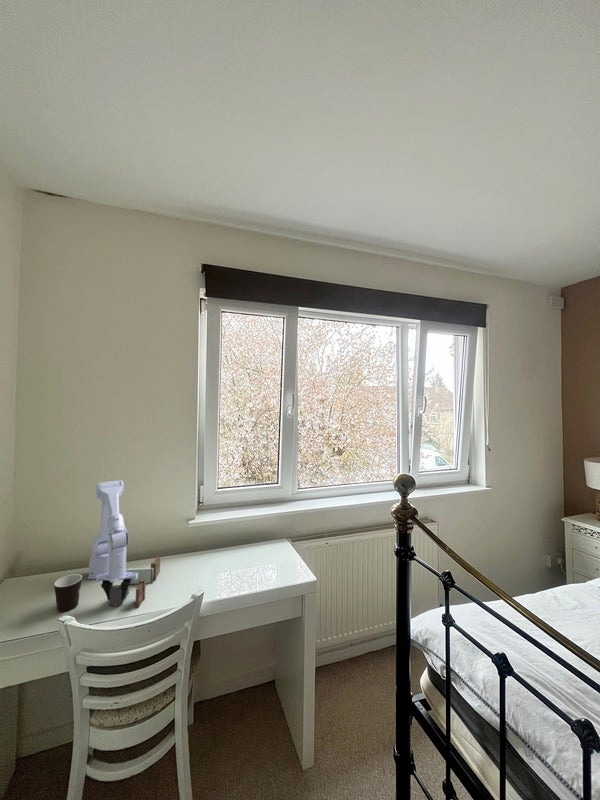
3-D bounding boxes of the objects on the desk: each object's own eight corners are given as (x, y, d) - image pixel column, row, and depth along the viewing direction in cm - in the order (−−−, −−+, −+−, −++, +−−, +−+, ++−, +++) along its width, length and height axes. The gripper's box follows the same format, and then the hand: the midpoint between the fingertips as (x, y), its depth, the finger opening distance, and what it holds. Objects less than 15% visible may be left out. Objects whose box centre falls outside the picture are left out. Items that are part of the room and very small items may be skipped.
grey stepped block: (121, 604, 122) (121, 588, 122) (109, 605, 121) (109, 589, 121) (128, 593, 129) (129, 578, 129) (117, 593, 128) (117, 579, 128)
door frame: (134, 607, 121) (134, 587, 121) (156, 571, 146) (156, 555, 146) (139, 607, 121) (140, 587, 121) (160, 571, 146) (161, 555, 146)
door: (153, 581, 138) (153, 567, 138) (152, 582, 137) (153, 568, 137) (126, 582, 137) (126, 568, 137) (125, 584, 136) (125, 569, 136)
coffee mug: (72, 614, 117) (73, 586, 117) (47, 614, 116) (48, 587, 116) (90, 594, 128) (91, 569, 128) (68, 595, 128) (68, 570, 128)
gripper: (91, 569, 118) (91, 606, 118) (133, 568, 120) (132, 604, 120) (101, 560, 125) (100, 594, 125) (140, 558, 127) (139, 592, 127)
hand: (116, 598), depth 123 cm, fingers closed on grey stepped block, 4 cm apart
